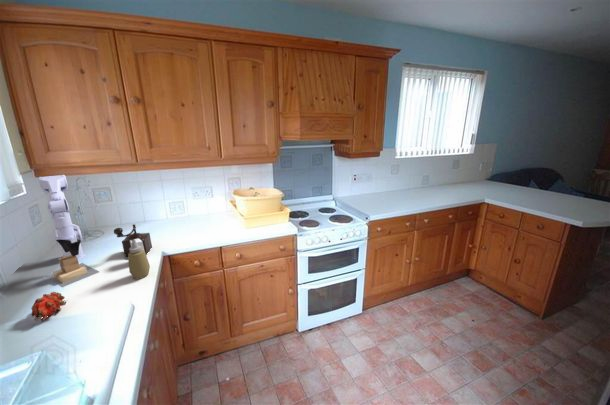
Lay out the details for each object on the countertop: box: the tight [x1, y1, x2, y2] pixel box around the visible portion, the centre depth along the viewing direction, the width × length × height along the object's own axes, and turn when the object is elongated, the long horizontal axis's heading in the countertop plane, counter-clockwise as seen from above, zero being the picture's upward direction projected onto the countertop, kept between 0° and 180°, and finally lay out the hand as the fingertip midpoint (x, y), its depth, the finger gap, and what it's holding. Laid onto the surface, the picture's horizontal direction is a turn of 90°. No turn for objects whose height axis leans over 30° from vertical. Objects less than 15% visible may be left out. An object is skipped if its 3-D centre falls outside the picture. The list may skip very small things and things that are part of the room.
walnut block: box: [57, 255, 80, 273], centre depth 119 cm, size 5×5×6 cm
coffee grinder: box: [113, 224, 153, 258], centre depth 138 cm, size 16×11×18 cm
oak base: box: [52, 263, 88, 283], centre depth 120 cm, size 9×9×3 cm
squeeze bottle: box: [127, 240, 151, 280], centre depth 118 cm, size 8×8×18 cm
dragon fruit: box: [31, 291, 67, 321], centre depth 95 cm, size 8×8×12 cm
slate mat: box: [46, 262, 100, 288], centre depth 121 cm, size 18×14×1 cm
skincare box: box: [130, 238, 144, 250], centre depth 131 cm, size 6×4×12 cm
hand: (72, 253), depth 120 cm, fingers open, 7 cm apart
